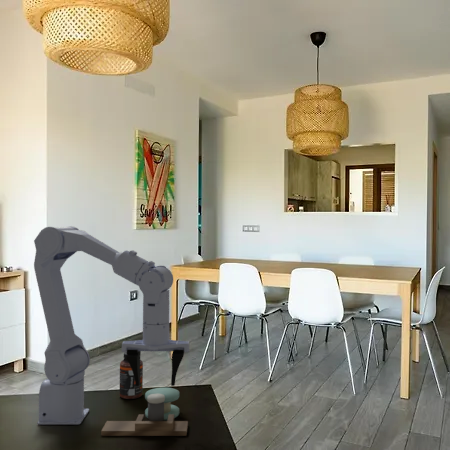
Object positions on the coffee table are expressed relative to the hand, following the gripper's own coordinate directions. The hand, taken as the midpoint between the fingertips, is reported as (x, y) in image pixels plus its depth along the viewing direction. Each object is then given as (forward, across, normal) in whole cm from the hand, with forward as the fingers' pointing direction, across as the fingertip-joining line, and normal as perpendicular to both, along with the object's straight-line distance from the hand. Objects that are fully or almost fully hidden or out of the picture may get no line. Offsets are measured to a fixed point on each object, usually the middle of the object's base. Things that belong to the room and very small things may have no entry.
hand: (155, 384), depth 103 cm
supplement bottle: (+10, -9, +20) cm, 24 cm away
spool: (+10, +1, +8) cm, 13 cm away
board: (+10, -2, -1) cm, 10 cm away
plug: (+9, 0, 0) cm, 9 cm away
